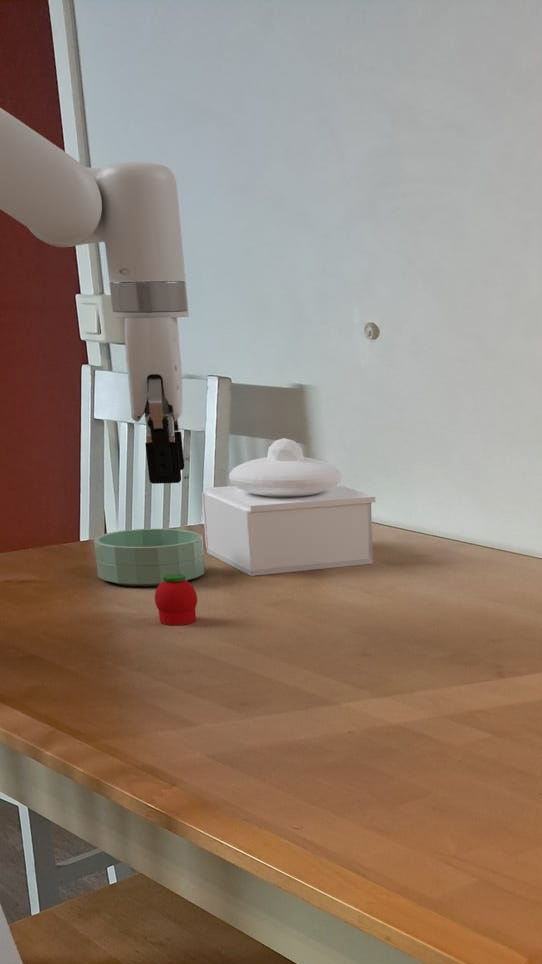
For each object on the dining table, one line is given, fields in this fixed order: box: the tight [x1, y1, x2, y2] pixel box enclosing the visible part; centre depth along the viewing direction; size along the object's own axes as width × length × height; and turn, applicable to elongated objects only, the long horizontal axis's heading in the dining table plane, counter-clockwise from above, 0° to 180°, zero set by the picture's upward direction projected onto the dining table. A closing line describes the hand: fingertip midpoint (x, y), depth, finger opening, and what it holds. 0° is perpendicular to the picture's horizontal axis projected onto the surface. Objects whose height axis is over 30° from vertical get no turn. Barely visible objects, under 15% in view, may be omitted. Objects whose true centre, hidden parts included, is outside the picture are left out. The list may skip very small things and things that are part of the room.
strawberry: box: [154, 574, 198, 626], centre depth 141 cm, size 5×5×5 cm
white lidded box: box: [201, 437, 376, 577], centre depth 172 cm, size 18×18×16 cm
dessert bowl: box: [93, 528, 206, 587], centre depth 162 cm, size 13×13×5 cm
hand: (167, 476), depth 136 cm, fingers open, 9 cm apart
